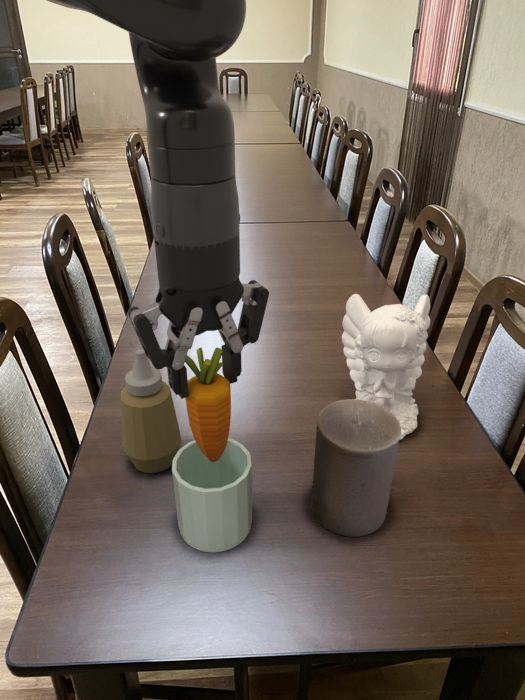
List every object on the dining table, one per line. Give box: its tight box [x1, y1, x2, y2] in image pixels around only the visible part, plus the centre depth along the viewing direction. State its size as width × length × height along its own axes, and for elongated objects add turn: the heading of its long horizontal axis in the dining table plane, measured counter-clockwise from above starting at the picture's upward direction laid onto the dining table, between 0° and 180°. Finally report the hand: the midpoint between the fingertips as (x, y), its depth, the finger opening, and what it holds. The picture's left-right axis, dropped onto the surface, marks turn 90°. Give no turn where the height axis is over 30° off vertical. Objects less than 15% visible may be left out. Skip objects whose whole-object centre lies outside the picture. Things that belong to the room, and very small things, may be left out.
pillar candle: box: [310, 398, 401, 538], centre depth 65 cm, size 10×10×15 cm
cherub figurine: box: [341, 293, 431, 441], centre depth 80 cm, size 13×12×20 cm
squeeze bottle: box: [119, 348, 182, 474], centre depth 71 cm, size 8×8×18 cm
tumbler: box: [171, 437, 253, 553], centre depth 64 cm, size 9×9×10 cm
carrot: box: [184, 347, 232, 462], centre depth 57 cm, size 5×5×15 cm
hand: (206, 385), depth 56 cm, fingers closed on carrot, 5 cm apart
